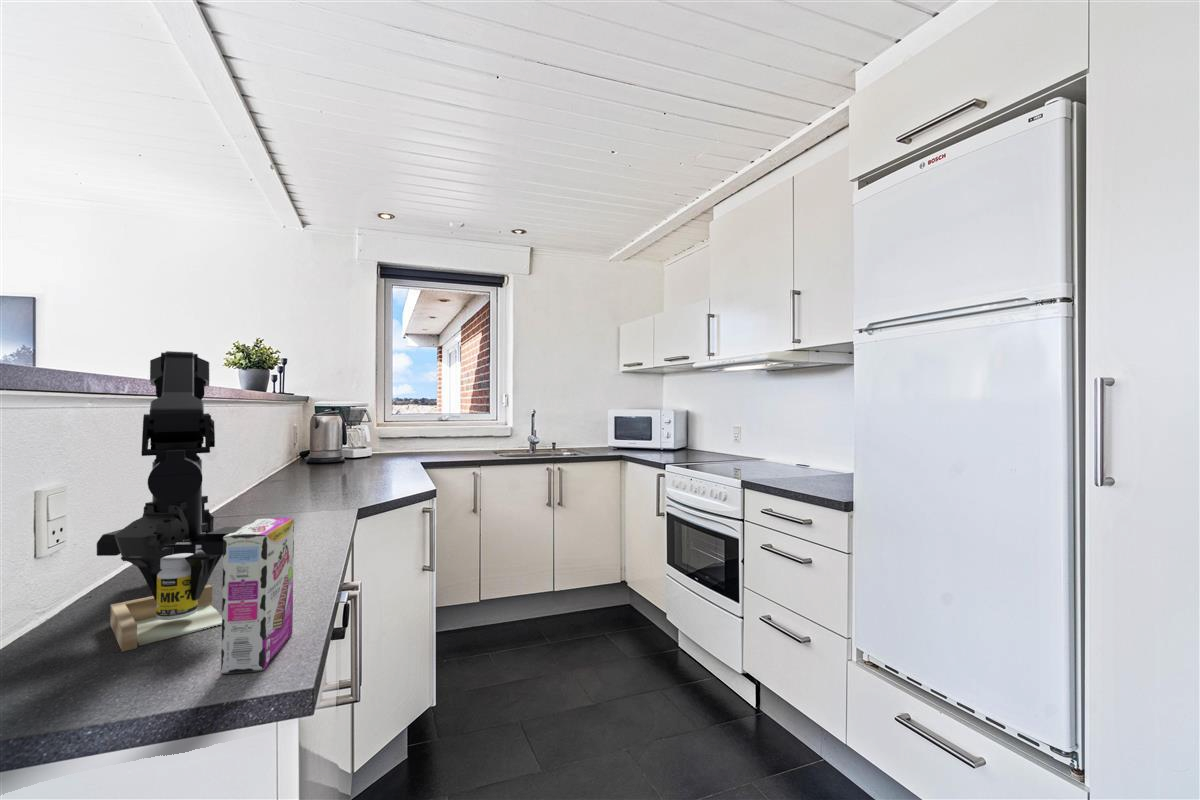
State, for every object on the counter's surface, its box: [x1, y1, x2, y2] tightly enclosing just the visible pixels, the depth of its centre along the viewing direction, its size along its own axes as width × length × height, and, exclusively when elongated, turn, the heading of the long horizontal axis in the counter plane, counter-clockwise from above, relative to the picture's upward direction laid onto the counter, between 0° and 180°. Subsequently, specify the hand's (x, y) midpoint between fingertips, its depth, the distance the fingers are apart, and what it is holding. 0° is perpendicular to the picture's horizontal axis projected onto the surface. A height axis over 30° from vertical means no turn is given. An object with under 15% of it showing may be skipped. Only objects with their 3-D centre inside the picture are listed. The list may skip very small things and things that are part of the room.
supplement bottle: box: [156, 553, 198, 620], centre depth 81 cm, size 5×5×8 cm
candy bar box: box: [220, 517, 295, 675], centre depth 71 cm, size 11×5×16 cm, turn 13°
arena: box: [109, 584, 222, 653], centre depth 80 cm, size 12×12×3 cm
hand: (177, 599), depth 81 cm, fingers closed on supplement bottle, 5 cm apart
